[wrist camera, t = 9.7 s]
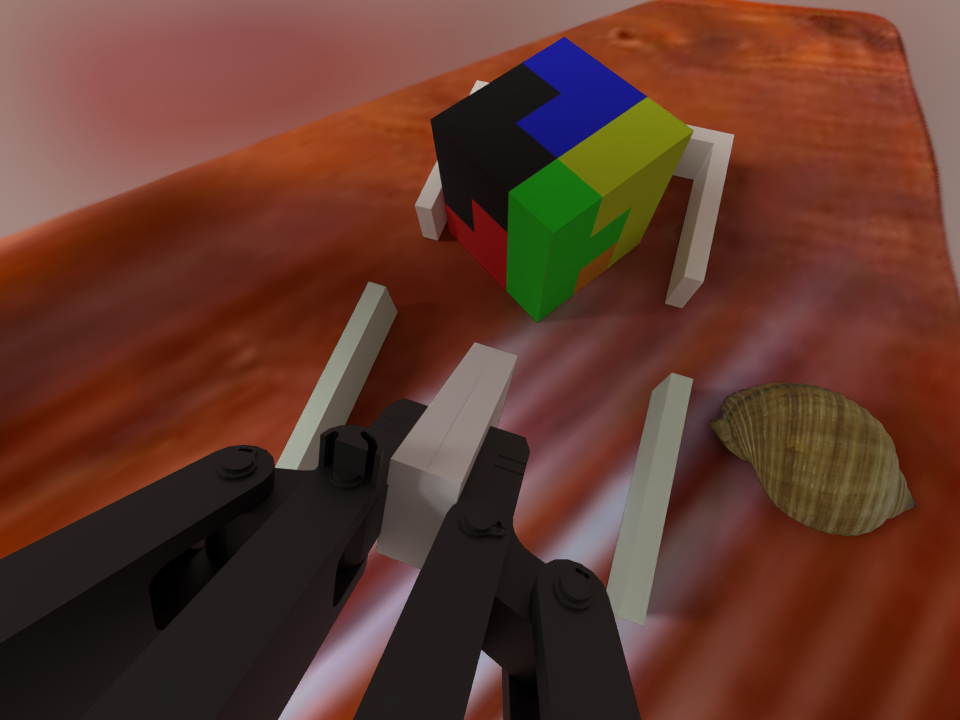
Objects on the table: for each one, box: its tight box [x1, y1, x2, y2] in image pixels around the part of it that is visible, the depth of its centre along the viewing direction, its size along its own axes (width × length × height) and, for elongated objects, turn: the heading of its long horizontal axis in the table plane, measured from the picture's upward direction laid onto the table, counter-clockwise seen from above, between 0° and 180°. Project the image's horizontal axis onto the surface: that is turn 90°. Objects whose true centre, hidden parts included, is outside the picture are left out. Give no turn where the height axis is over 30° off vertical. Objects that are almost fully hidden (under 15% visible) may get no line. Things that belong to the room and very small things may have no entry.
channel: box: [275, 282, 693, 626], centre depth 26 cm, size 20×13×4 cm, turn 70°
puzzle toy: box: [430, 37, 694, 323], centre depth 29 cm, size 10×10×10 cm
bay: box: [415, 80, 734, 308], centre depth 33 cm, size 19×13×4 cm, turn 70°
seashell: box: [710, 382, 915, 536], centre depth 25 cm, size 10×7×8 cm
